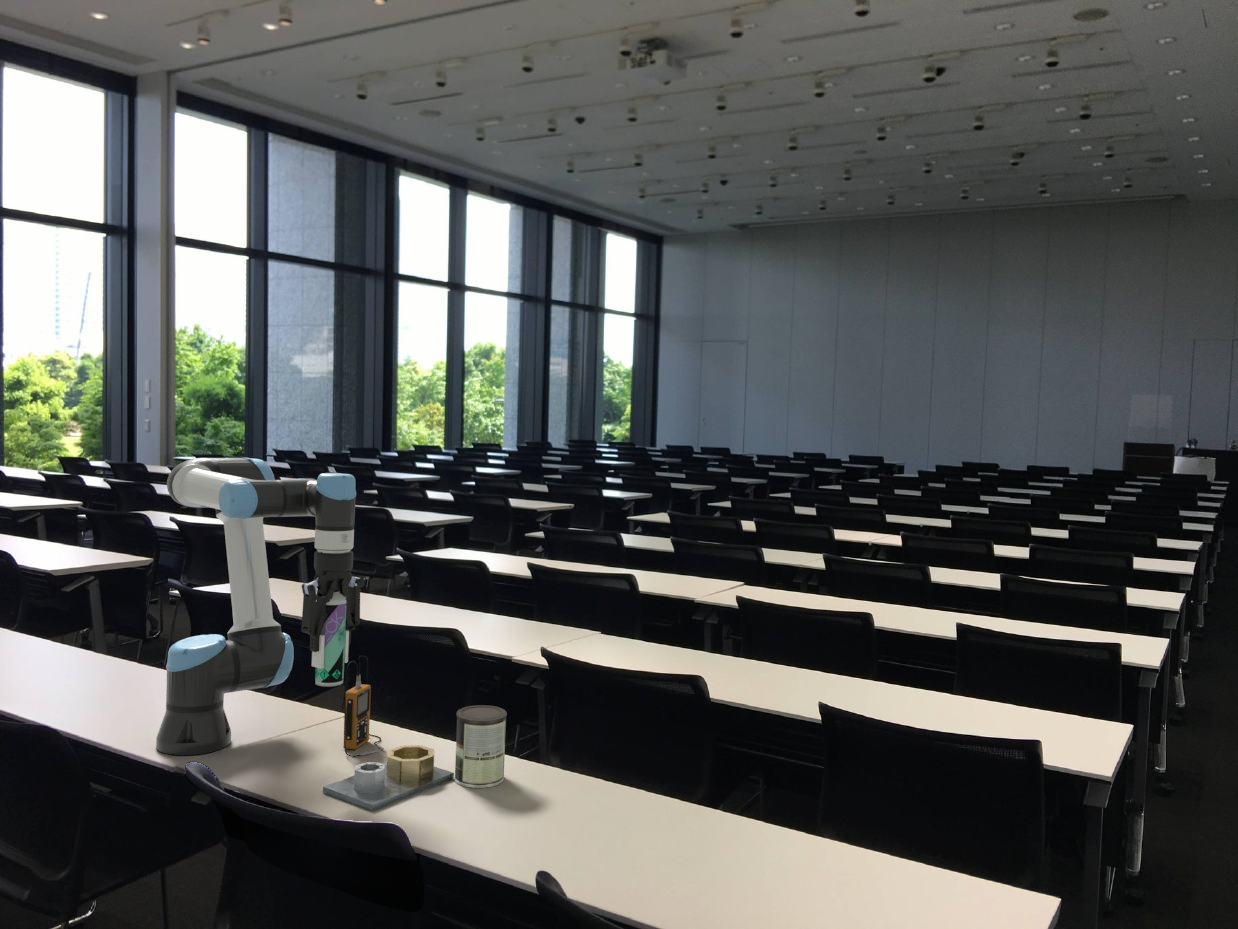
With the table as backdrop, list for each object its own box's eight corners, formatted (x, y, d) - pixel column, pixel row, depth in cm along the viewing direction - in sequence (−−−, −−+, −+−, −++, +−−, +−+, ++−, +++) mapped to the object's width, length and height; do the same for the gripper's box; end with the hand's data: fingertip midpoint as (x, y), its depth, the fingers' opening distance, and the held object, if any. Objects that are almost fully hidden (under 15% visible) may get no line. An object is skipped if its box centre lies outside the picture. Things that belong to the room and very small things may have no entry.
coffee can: (443, 780, 200) (446, 712, 199) (478, 766, 208) (480, 702, 207) (480, 792, 194) (482, 723, 193) (514, 778, 202) (517, 712, 202)
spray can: (313, 680, 198) (317, 582, 197) (341, 678, 200) (345, 582, 199) (316, 687, 193) (320, 587, 192) (345, 685, 195) (348, 587, 194)
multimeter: (377, 760, 209) (380, 669, 208) (334, 755, 211) (337, 664, 210) (405, 739, 223) (408, 653, 223) (365, 735, 225) (368, 649, 225)
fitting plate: (323, 792, 190) (323, 766, 190) (405, 763, 208) (406, 739, 208) (372, 811, 182) (373, 784, 182) (453, 778, 201) (454, 753, 200)
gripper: (308, 556, 185) (304, 676, 186) (381, 548, 201) (377, 659, 202) (283, 552, 189) (279, 669, 191) (357, 544, 205) (353, 653, 206)
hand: (329, 664), depth 196 cm, fingers closed on spray can, 5 cm apart
